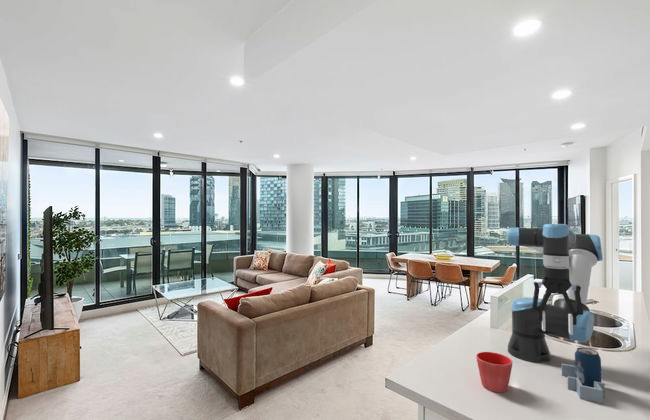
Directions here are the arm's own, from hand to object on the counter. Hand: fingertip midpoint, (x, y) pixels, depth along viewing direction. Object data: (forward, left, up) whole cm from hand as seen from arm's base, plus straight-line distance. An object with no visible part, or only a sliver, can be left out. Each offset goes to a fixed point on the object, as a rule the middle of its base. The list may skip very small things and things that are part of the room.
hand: (557, 331), depth 113 cm
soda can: (+9, 0, -17) cm, 19 cm away
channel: (+7, -3, -17) cm, 19 cm away
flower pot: (-20, -15, -17) cm, 30 cm away
